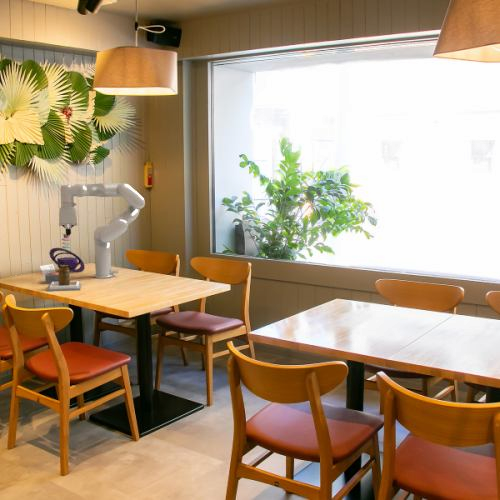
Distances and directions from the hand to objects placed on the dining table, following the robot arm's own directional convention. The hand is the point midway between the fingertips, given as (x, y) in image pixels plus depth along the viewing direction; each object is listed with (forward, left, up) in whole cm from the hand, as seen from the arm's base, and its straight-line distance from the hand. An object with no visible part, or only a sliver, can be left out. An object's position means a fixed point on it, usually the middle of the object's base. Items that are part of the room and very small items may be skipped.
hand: (68, 235), depth 378 cm
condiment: (+1, +29, -26) cm, 39 cm away
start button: (+8, +9, -25) cm, 27 cm away
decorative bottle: (+4, -28, -27) cm, 40 cm away
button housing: (+8, +9, -27) cm, 30 cm away
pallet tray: (+1, +28, -27) cm, 39 cm away
